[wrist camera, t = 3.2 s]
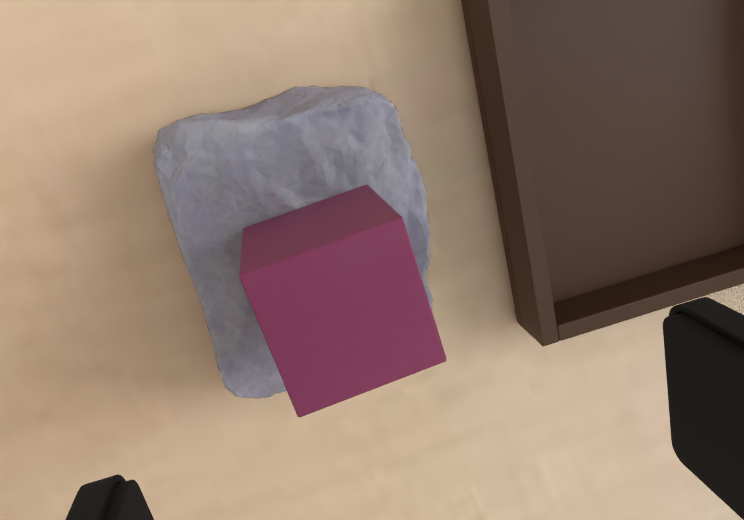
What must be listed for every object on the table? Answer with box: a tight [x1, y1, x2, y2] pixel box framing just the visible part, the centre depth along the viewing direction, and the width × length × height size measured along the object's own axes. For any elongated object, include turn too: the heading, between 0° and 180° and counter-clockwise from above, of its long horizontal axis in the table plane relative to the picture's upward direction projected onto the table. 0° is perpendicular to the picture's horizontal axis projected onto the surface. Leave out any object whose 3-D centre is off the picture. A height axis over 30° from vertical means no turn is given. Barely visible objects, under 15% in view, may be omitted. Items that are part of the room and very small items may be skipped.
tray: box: [461, 0, 744, 346], centre depth 26 cm, size 14×17×3 cm
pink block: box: [239, 185, 446, 417], centre depth 20 cm, size 5×5×6 cm
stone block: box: [153, 86, 432, 398], centre depth 25 cm, size 12×5×10 cm
